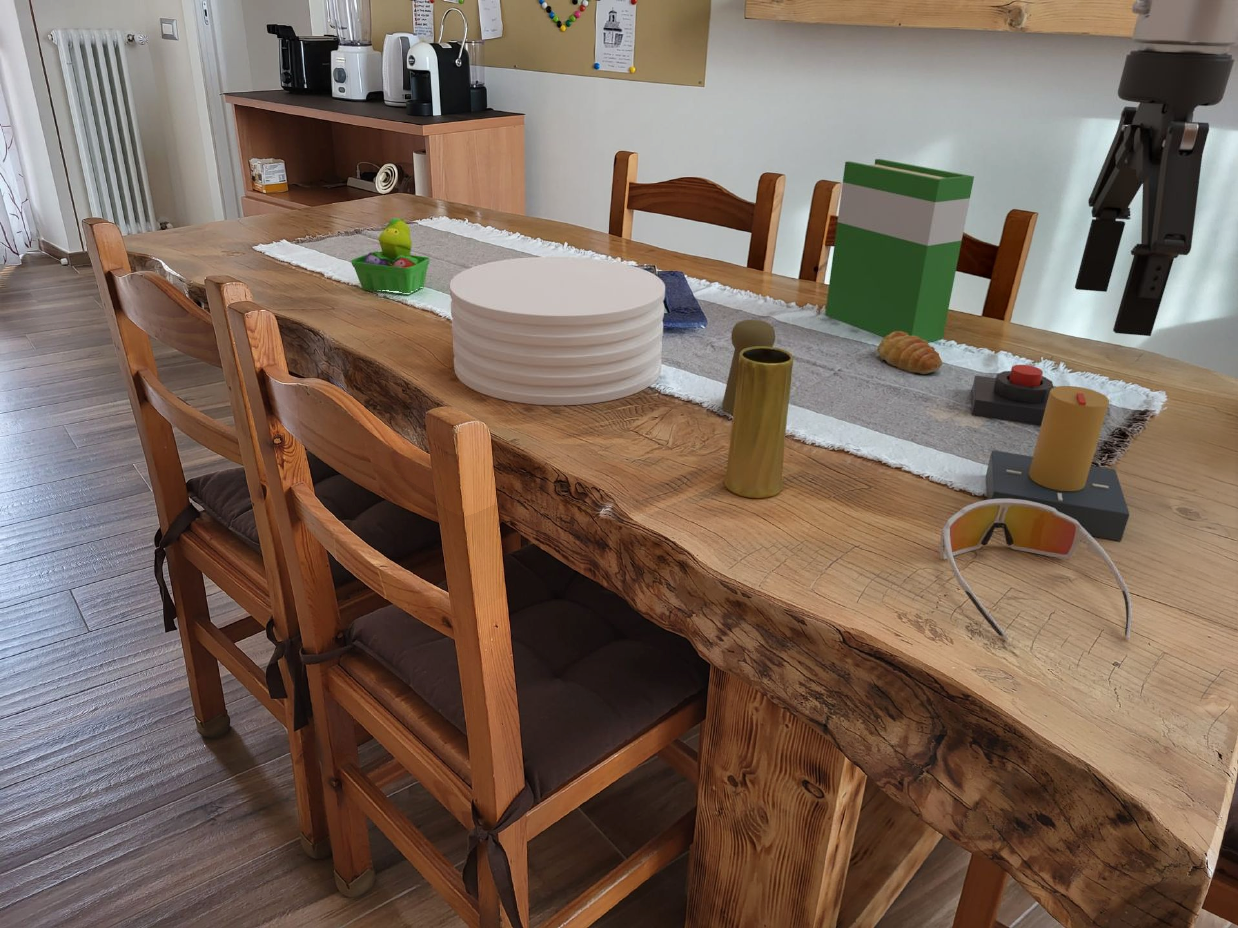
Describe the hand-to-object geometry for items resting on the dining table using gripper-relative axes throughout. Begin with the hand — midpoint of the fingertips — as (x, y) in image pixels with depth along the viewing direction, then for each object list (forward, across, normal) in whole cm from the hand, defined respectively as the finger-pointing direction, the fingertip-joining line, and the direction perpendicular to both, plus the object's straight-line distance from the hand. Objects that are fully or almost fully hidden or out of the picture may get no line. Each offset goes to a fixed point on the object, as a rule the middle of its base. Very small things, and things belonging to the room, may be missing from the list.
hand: (1109, 310), depth 82 cm
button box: (+21, -28, +1) cm, 35 cm away
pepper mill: (+21, -19, -32) cm, 43 cm away
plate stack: (+21, -27, -58) cm, 68 cm away
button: (+17, -28, +1) cm, 33 cm away
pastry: (+21, -42, -11) cm, 48 cm away
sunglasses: (+21, +15, -5) cm, 26 cm away
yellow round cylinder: (+18, -2, 0) cm, 18 cm away
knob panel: (+21, -2, 0) cm, 21 cm away
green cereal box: (+21, -58, -14) cm, 63 cm away
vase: (+21, +1, -30) cm, 36 cm away
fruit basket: (+21, -56, -95) cm, 112 cm away
